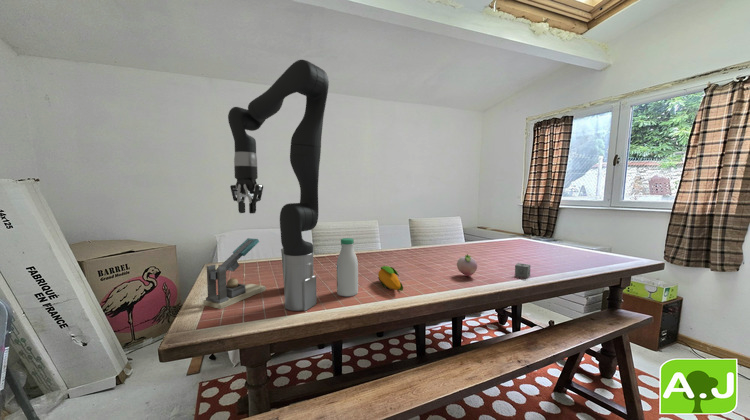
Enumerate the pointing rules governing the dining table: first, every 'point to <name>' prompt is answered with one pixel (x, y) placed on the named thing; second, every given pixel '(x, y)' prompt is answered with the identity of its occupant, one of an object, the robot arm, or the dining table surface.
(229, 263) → the lever
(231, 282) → the nut
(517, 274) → the grey cube
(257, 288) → the cracker base
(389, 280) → the corn
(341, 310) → the dining table surface
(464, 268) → the decorative fruit
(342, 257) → the milk bottle
